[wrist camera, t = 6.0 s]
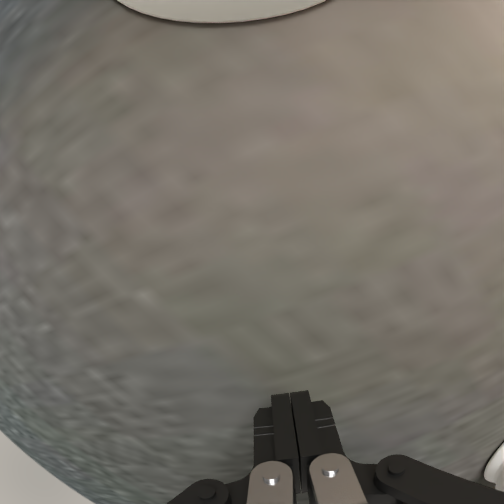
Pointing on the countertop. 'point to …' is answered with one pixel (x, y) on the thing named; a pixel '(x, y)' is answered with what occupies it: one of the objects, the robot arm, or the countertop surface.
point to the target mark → (218, 9)
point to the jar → (496, 469)
